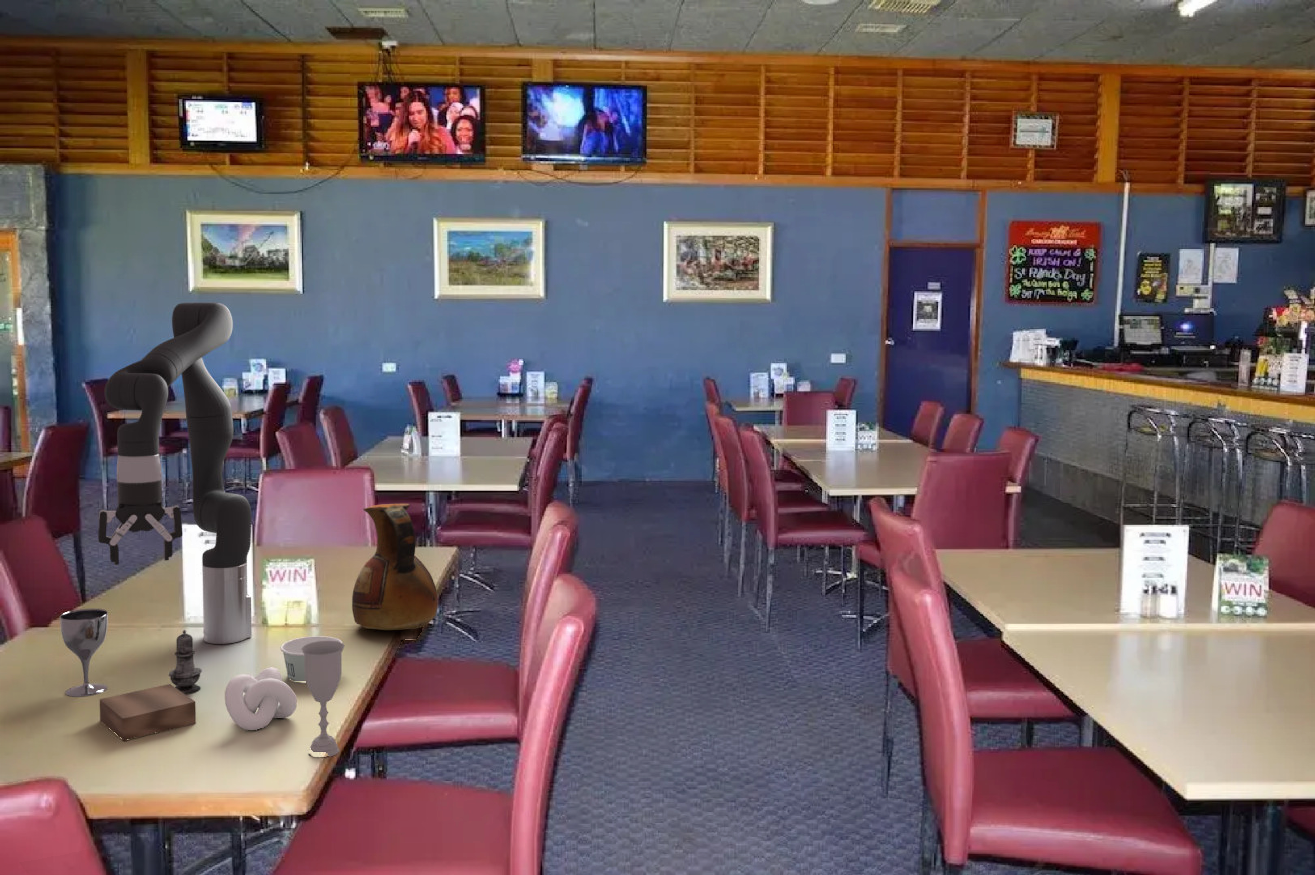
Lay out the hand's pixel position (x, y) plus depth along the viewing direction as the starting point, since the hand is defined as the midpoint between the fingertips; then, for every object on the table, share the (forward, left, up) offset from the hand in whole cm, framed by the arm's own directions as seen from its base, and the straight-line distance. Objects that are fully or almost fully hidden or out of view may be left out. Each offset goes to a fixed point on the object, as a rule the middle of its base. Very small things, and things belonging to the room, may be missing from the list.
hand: (141, 561), depth 195 cm
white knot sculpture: (-8, +31, -25) cm, 41 cm away
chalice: (-11, +50, -25) cm, 57 cm away
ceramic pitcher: (-57, -4, -25) cm, 63 cm away
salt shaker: (-5, +6, -25) cm, 27 cm away
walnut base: (+6, +18, -25) cm, 31 cm away
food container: (-27, +14, -25) cm, 40 cm away
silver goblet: (+9, -6, -25) cm, 27 cm away
